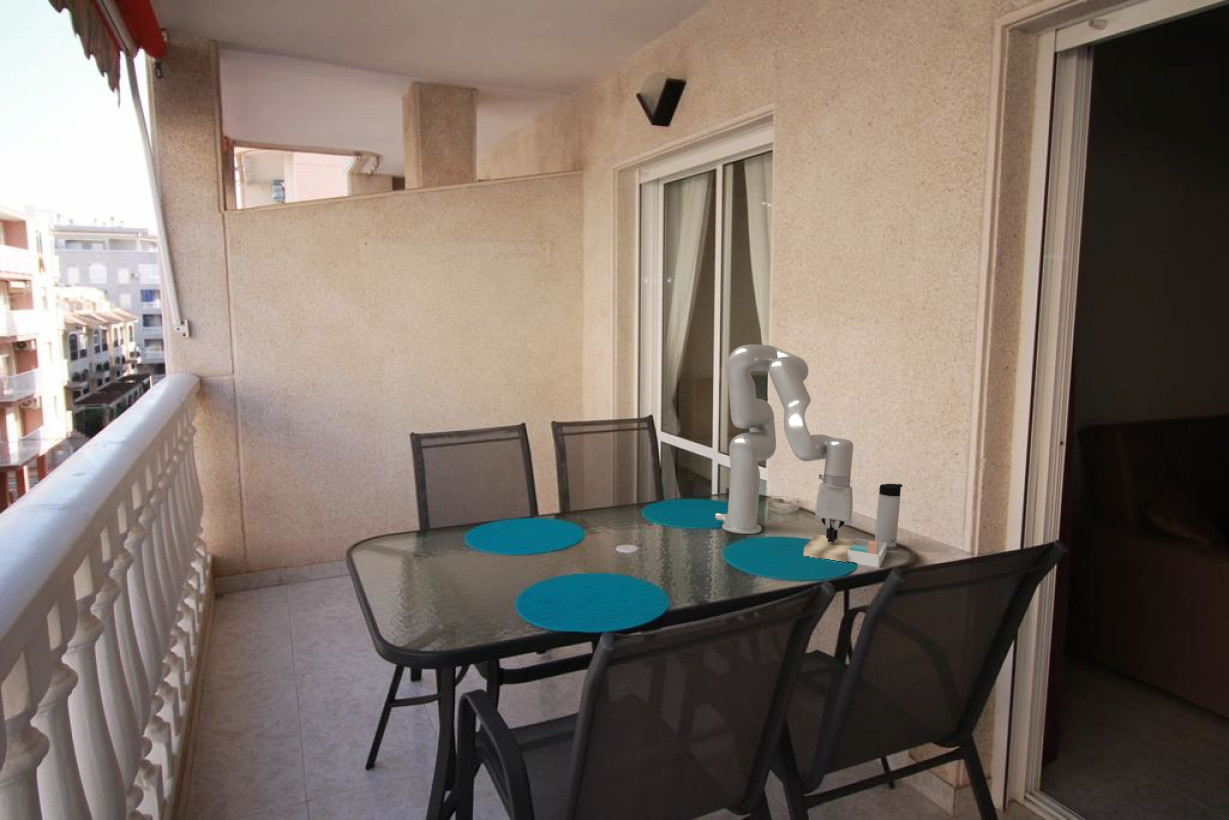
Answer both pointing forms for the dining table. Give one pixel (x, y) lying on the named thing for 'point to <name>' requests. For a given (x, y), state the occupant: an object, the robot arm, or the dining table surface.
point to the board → (828, 548)
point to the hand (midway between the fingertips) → (831, 541)
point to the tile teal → (859, 548)
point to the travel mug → (888, 514)
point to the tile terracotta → (873, 547)
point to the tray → (867, 554)
